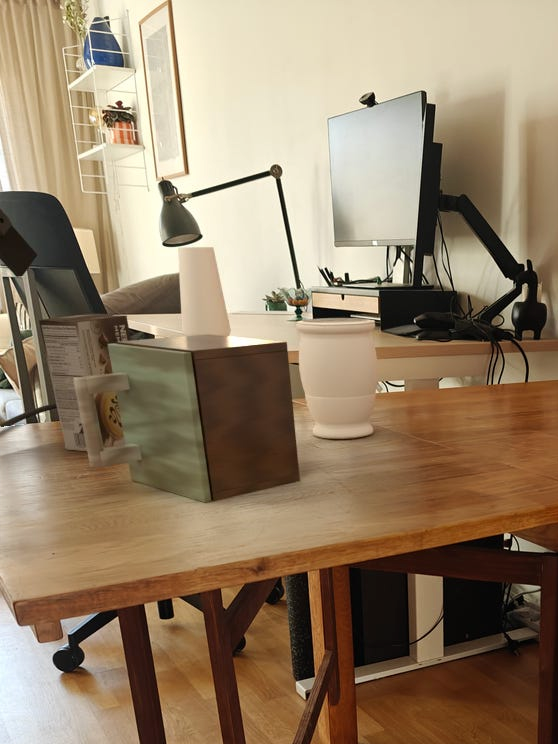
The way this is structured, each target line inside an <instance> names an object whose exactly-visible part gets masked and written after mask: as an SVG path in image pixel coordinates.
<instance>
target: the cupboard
mask: <svg viewBox="0 0 558 744" xmlns="http://www.w3.org/2000/svg"><path fill="white" fill-rule="evenodd" d="M117 344H123V345H131V346H140V347H148V348H156V349H165V350H173V351H182V352H190V353H191V357H192V365H193V372H194V379H195V386H196V394H197V401H198V408H199V415H200V422H201V430H202V437H203V444H204V451H205V458H206V466H207V473H208V480H209V487H210V495H211V501H210V502H217V501H221V500H224V499H225V500H226V499H230V498H234V497H238V496H242V495H247V494H252V493H256V492H260V491H265V490H269V489H273V488H277V487H281V486H285V485H286V486H287V485H290V484H294V483H298V482H301V477H300V476H301V475H300V468H299V457H298V456H299V455H298V446H297V445H298V444H297V436H296V434H297V433H296V425H295V423H296V422H295V413H294V403H293V394H292V392H293V391H292V384H291V383H292V381H291V380H292V379H291V372H290V361H289V350H288V342H287V341H284V340H283V341H281V340H273V339H272V340H271V339H263V338H250V337H240V336H230V335H229V336H219V335H209V334H206V335H193V336H184V335H183V336H173V337H171V336H169V337H158V338H146V339H145V338H143V339H134V340H132V339H131V341H119V342H117Z"/></svg>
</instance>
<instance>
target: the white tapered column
mask: <svg viewBox="0 0 558 744" xmlns="http://www.w3.org/2000/svg"><path fill="white" fill-rule="evenodd" d="M177 254H178V275H179V291H180V292H179V293H180V296H179V297H180V313H181V314H180V315H181V332H182V334H183V336H193V335H206V334H209V335H219V336H230V335H231V329H232V328H231V325H230V319H229V316H228V310H227V306H226V301H225V296H224V292H223V287H222V282H221V277H220V273H219V267H218V263H217V259H216V254H215V249H214V247H213V246H209V247H208V246H207V247H206V246H204V247H203V246H202V247H201V246H197V247H196V246H193V247H192V246H191V247H189V246H188V247H185V246H184V247H177Z"/></svg>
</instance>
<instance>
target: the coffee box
mask: <svg viewBox="0 0 558 744" xmlns="http://www.w3.org/2000/svg"><path fill="white" fill-rule="evenodd" d="M128 321H129V320H128V315H121V314H120V315H115V314H107V313H87V314H78V315H69V316H68V315H67V316H60V317H59V316H58V317H51V318H42V319H38V323H39V329H40V333H41V337H42V343H43V347H44V351H45V357H46V361H47V366H48V371H49V376H50V380H51V385H52V390H53V395H54V399H55V403H56V405H57V408H56V409H57V414H58V418H59V419H58V420H59V423H60V428H61V433H62V438H63V441H64V447H65V450H68V451H78V452H87V447H86V442H85V437H84V431H83V426H82V421H81V416H80V411H79V406H78V401H77V395H76V390H75V385H74V380H73V378H75V377H83V376H92V375H101V374H111V373H113V372H112V367H111V361H110V355H109V350H108V344H117V342H119V341H132V338H131V333H130V326H129V322H128ZM94 400H95V405H96V410H97V416H98V421H99V427H100V432H101V437H102V443H103V448H107V447H113V446H119V445H125V441H124V435H123V429H122V423H121V418H120V412H119V406H118V401H117V395H116V391H113V392H105V393H97V394H94Z"/></svg>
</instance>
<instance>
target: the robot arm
mask: <svg viewBox="0 0 558 744" xmlns="http://www.w3.org/2000/svg"><path fill="white" fill-rule="evenodd" d="M37 257H38V253H37V252H36V251H35V250H34V248H32V246H31V245H30V244H29V243H28V242H27V240H26V239H25V238H24V237H23V236H22V235H21V234H20V233H19V231H18V230H17V229H16V228H15V227H14V226H13V223H12V222H11V220H10V218H9V216H7V214H6V213H5V212H4V210H2V209H1V208H0V261H1V262H2V263H3V264H4V265H5V266H6V268H7V269H8V270H9V271H10V272H11V273H12V274H13V275H14V277H16V278H19V277H24V275H25V274H26V272H27V271H28V269H29V268H30V266H31V265H32V264H33V262H34V261H35V259H36V258H37ZM55 409H57V405H56V402H54V403H49V404H45V405H43V406H40V407H37V408H33V409H31V410H28V411H25V412H22V413H20V414H18V415H15V416H13V417H11V418H9V419H8V420H6V421H3V422H2V423H0V426H1V427H4V426H10V427H11V426H14V425H15V424H17V423H19V422H22V421H24V420H27V419H28V418H30V417H33V416H36V415H39V414H41V413H45V412H47V411H51V410H55Z"/></svg>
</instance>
